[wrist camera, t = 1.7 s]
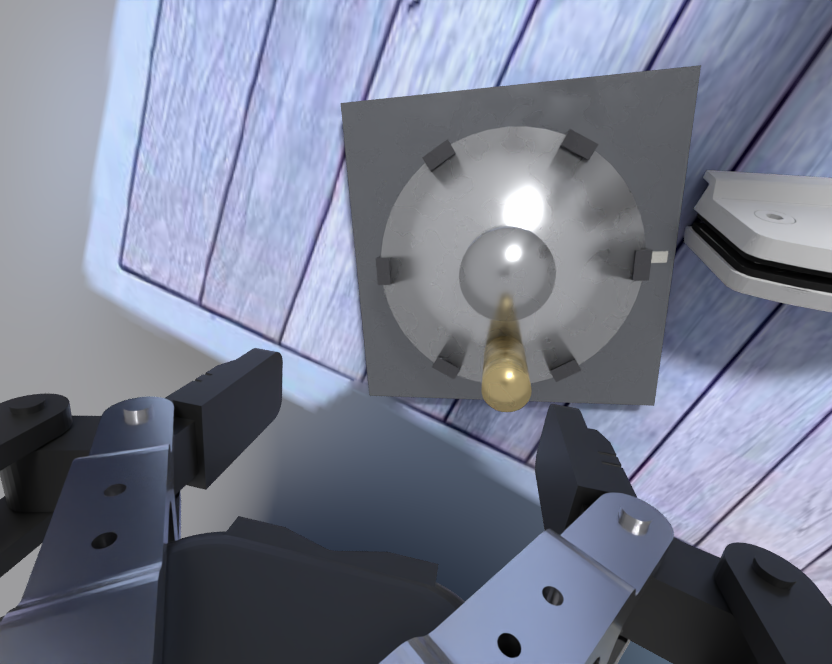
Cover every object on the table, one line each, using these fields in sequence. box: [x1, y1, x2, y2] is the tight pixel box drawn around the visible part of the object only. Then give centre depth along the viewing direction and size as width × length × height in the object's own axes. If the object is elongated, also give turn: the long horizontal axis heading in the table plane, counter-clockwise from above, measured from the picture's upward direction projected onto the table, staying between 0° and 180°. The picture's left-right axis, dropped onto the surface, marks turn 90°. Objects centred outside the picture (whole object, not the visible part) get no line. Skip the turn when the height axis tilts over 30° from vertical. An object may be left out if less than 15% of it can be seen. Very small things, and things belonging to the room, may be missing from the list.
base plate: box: [341, 65, 701, 406], centre depth 33 cm, size 24×24×2 cm
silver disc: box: [376, 126, 653, 412], centre depth 28 cm, size 18×19×9 cm
